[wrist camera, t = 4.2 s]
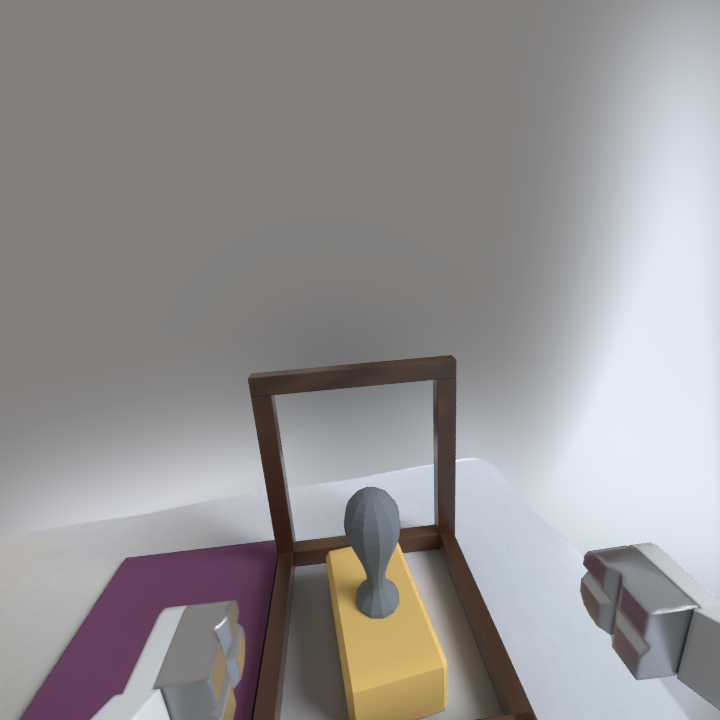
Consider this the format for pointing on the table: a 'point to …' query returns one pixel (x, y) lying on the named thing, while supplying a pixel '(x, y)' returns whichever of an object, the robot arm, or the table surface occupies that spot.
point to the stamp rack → (440, 535)
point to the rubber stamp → (382, 619)
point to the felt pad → (139, 613)
